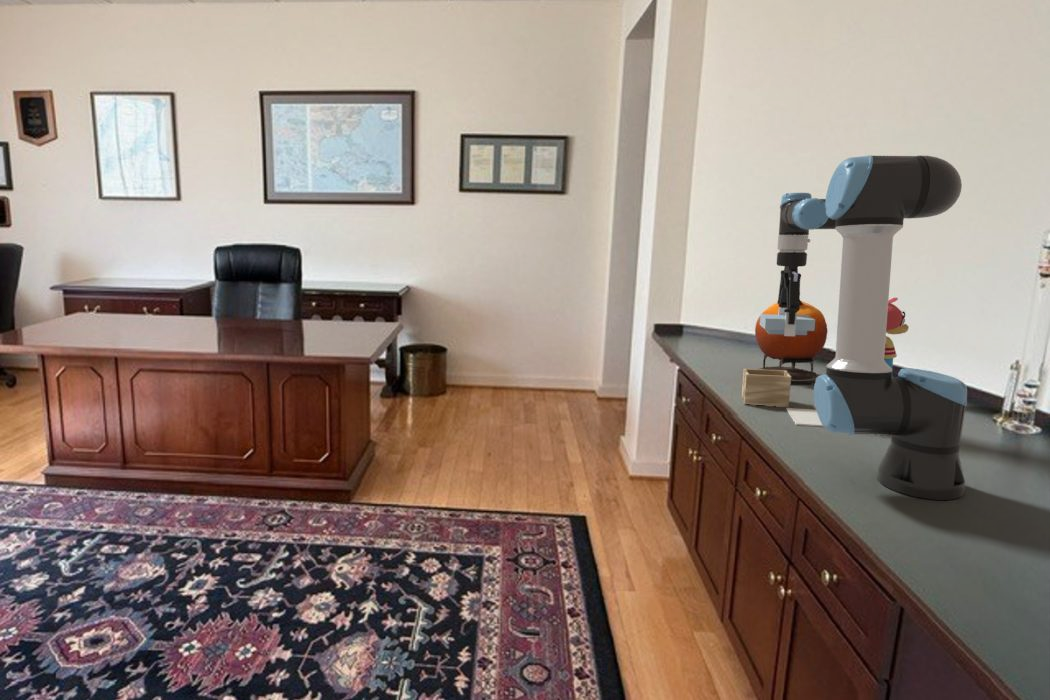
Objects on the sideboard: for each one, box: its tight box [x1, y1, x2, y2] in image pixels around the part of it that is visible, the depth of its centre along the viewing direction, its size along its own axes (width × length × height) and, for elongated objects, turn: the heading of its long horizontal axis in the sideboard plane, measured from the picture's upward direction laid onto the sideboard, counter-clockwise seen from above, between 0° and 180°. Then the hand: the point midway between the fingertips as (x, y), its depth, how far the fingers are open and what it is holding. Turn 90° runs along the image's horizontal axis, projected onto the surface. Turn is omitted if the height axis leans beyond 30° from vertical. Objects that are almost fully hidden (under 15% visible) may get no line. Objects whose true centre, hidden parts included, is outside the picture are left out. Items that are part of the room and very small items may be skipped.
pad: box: [785, 407, 825, 428], centre depth 171 cm, size 14×14×1 cm
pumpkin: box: [754, 300, 828, 386], centre depth 212 cm, size 22×22×30 cm
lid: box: [759, 313, 815, 335], centre depth 177 cm, size 9×13×4 cm
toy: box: [884, 297, 909, 377], centre depth 190 cm, size 15×10×30 cm
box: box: [741, 368, 792, 408], centre depth 185 cm, size 8×12×9 cm, turn 78°
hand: (785, 333), depth 177 cm, fingers closed on lid, 9 cm apart
